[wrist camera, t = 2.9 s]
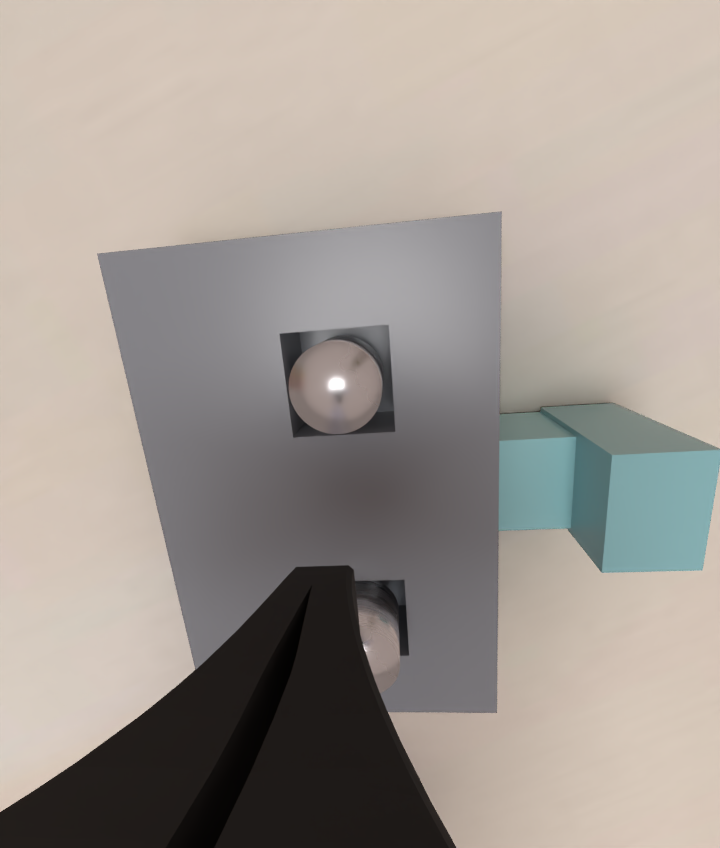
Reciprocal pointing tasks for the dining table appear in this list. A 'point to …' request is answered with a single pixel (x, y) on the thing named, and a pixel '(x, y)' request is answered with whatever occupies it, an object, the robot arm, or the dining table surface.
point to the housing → (322, 452)
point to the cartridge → (609, 485)
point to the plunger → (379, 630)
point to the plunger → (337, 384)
